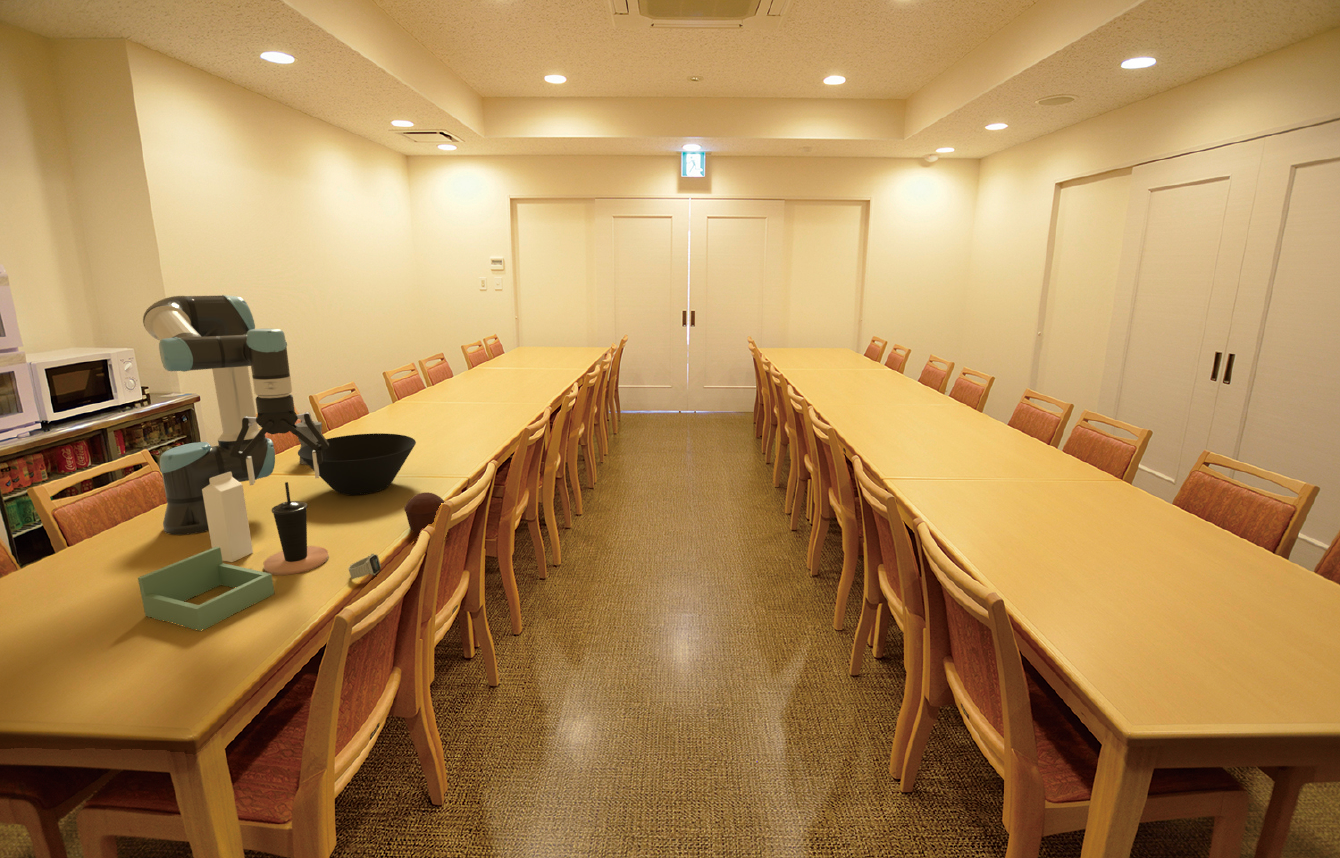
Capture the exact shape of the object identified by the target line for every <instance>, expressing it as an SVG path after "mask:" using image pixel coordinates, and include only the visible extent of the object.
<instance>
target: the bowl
mask: <svg viewBox="0 0 1340 858" xmlns="http://www.w3.org/2000/svg"><path fill="white" fill-rule="evenodd" d="M325 439H326V440H327V441H328V443H329V448H328V449H324V450H322V459H323V462H322V464H318V468H319V478H321V479H322V480H323V481H324V482H325V483H326V485H328V486H329V487H330V489H332V490H333V491H335V493H338V494H340V495H341V494H342V495H346V496H347V495H348V496H358V495H359V496H360V495H369V494H373V493H377V492H379V491H382V490H385V489H386V488H388V487H389V486H390V485H391V484H392V483H393V481H394V480H395V478H396V476H397V474H398V473H399V472H400V470H401V468H402V467H403V466H404V463H405V462H406V460H407V459H408V457H409V455H410V454H411V452H412V451H413V449H414V447H415V446H416V443H417V442H416V440H415V438H413V437H411V436H407V435H404V434H398V433H379V432H378V433H377V432H376V433H375V432H374V433H359V434H349V435H348V434H347V435H343V436H342V435H341V436H336V437H329V438H325ZM316 443H318V444H319V445H321V444H320V442H319V441H317V442H316ZM312 452H313V449H312V448H311V447H310V446H308V445H306V446H304V447H302V448H301V449H300V448H299V450H298V451H297V455H298V456H299V458H300V457H301V458H302V459H303V460H304V461H305V462H306V463H307V464H308V466H309V467H310V468H311V469H312V470H313V471H314V464H313V456H312Z"/></svg>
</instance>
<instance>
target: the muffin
mask: <svg viewBox="0 0 1340 858" xmlns="http://www.w3.org/2000/svg"><path fill="white" fill-rule="evenodd" d="M444 502H445V500H444V499H443V498H442V497H441V496H439V495H437V494H436V493H434V492H421V493H417V494H415V495H414V496H412V497H411V498H410V499H409V500H408V501H407V503H406V504H405V506H404V509H403V510H404V512H405V515H406V518H407V522H408V526H409V530H411V531H412V532H413V533H419V532H420V530H421V529H422V528H425V527H426V526H427V525H428V524H432V523H433V522H434V518H435V515H436V511H437V510H438V508H439V506H440V505H441V503H444ZM419 534H420V533H419Z"/></svg>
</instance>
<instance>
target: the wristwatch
mask: <svg viewBox="0 0 1340 858" xmlns="http://www.w3.org/2000/svg"><path fill="white" fill-rule="evenodd" d="M381 567H382V565H381V561H380V558H379V556H378V554H375V553H371V554H370V555H368V556H367V557H364V558H362V559H360V560H358V561H355V562H354V563H351V564H350V565H349V566H348V568H347V569H348V572H349V575H350V578H352V579H357V578H358V579H359V578H361V577H365V576H367V575H371V576H376V574H378V573H379V572H380V570H381Z"/></svg>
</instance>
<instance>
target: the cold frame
mask: <svg viewBox="0 0 1340 858" xmlns="http://www.w3.org/2000/svg"><path fill="white" fill-rule="evenodd" d="M137 582H138V586H139V591H140V595H141V600H142V604H143V605H142V606H143V610H144V615H145V617H146V616H148V617H147V618H150V617H152V618H151V619H153V618H155V619H154V620H157V619H158V621H161V620H164V621H169V622H173V623H176V624H179V625H183V626H185V627H184V628H187V627H189V628H188V629H190V628H191V630H194V629H197V630H196V631H198V630H200V631H199V632H202V631H203V630H202V629H204V630H206V629H208V628H210V627H212V626H214V625H216V624H218V623H220V622H222V621H224V620H226V619H228V618H230V617H232V616H233V614H234V613H236V612H238V613H240V612H242V611H244V610H245V608H246V609H247V607H248V608H249V606H250V607H251V605H252V604H254V603H255V604H257V603H259V602H261V601H263V600H265V599H267V598H269V597H271V596H273V595H275V589H274V583H273V574H270V573H267V572H266V571H259V570H256V569H251V568H246V567H242V566H238V565H233V564H230V563H229V564H228V563H224V561H222V555H221V549H220V547H214V548H212V547H211V548H209V549H206V550H204V551H202V552H199V553H196V554H193V555H192V556H188V557H186V558H183V559H182V560H178V561H176V562H174V563H171V564H168V565H166V566H164V567H161V568H159V569H155V570H153V571H150V572H149V573H145V574H143V575H141V576H139V577H137ZM219 585H220V586H225V587H228V586H229V588H231V589H230V590H227V591H225V592H223V593H222V594H220V595H218V596H215V597H213V598H211V599H209V600H206V601H204V602H203V603H200V604H195V603H192V602H187V601H188V600H187V599H189V598H191V599H193V598H192V597H194V596H196V595H198V596H200V595H202V594H204V592H205V593H206V591H207V592H209V591H211V590H213V589H215V588H217V587H219ZM214 587H215V588H214ZM232 587H236V588H232ZM212 588H213V589H212ZM210 589H211V590H210ZM208 590H209V591H208ZM201 593H202V594H201ZM199 594H200V595H199ZM270 595H271V596H270ZM196 597H197V596H196ZM194 598H195V597H194ZM185 600H187V601H185ZM189 600H190V599H189ZM184 601H185V602H184ZM255 604H254V605H255ZM252 606H253V605H252ZM243 609H244V610H243ZM241 610H242V611H241ZM236 614H237V613H236ZM231 615H232V616H231ZM234 615H235V614H234ZM227 617H228V618H227ZM221 620H222V621H221ZM164 621H163V622H164ZM219 621H220V622H219ZM215 623H216V624H215ZM179 625H178V626H179ZM183 626H182V627H183ZM201 630H202V631H201Z"/></svg>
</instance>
